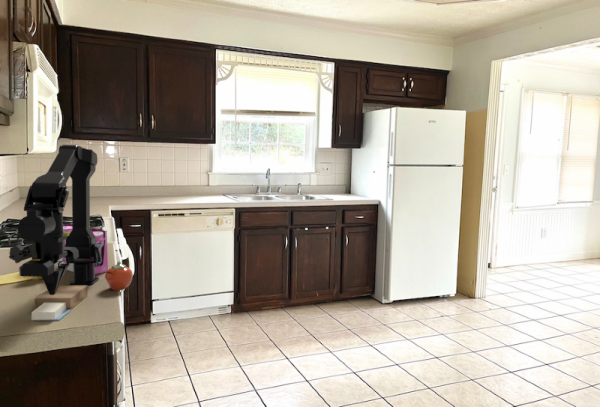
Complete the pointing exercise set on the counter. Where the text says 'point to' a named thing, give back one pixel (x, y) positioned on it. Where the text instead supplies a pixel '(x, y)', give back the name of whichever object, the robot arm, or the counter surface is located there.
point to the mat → (59, 315)
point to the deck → (64, 296)
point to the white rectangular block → (49, 311)
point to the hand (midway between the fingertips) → (52, 294)
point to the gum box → (102, 244)
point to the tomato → (119, 276)
